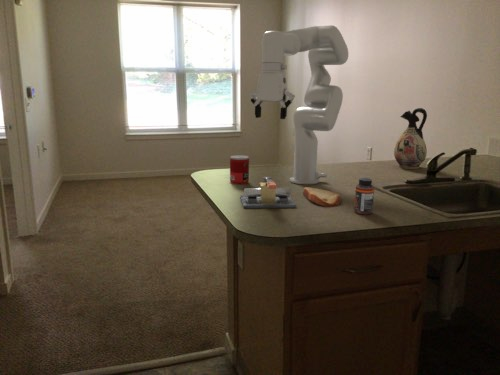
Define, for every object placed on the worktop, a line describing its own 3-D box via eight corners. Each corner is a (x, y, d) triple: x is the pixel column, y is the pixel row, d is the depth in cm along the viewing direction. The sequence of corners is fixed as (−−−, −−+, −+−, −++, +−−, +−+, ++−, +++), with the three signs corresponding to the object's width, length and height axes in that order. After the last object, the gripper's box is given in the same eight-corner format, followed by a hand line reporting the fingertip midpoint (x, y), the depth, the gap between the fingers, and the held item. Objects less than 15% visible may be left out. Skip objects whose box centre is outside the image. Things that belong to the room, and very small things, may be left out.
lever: (262, 180, 157) (262, 176, 157) (271, 180, 157) (271, 176, 157) (267, 189, 144) (268, 185, 144) (277, 189, 145) (277, 185, 144)
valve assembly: (288, 196, 165) (288, 176, 163) (296, 207, 152) (297, 185, 150) (239, 197, 163) (240, 177, 161) (243, 208, 150) (243, 186, 148)
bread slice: (306, 191, 176) (306, 182, 175) (350, 197, 167) (351, 188, 166) (286, 201, 161) (286, 191, 160) (333, 209, 152) (334, 198, 151)
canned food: (246, 185, 183) (247, 158, 181) (227, 183, 185) (228, 157, 182) (250, 181, 190) (250, 155, 188) (232, 179, 192) (232, 154, 189)
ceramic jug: (388, 168, 223) (393, 107, 216) (397, 163, 235) (403, 106, 228) (423, 172, 214) (430, 109, 207) (431, 167, 226) (438, 107, 219)
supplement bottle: (351, 209, 150) (353, 177, 147) (368, 209, 150) (371, 176, 148) (357, 215, 144) (359, 181, 141) (374, 214, 145) (377, 180, 142)
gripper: (299, 69, 155) (296, 119, 158) (255, 69, 162) (253, 116, 166) (291, 68, 148) (288, 120, 152) (245, 67, 156) (244, 117, 159)
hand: (270, 118), depth 159 cm, fingers open, 9 cm apart
